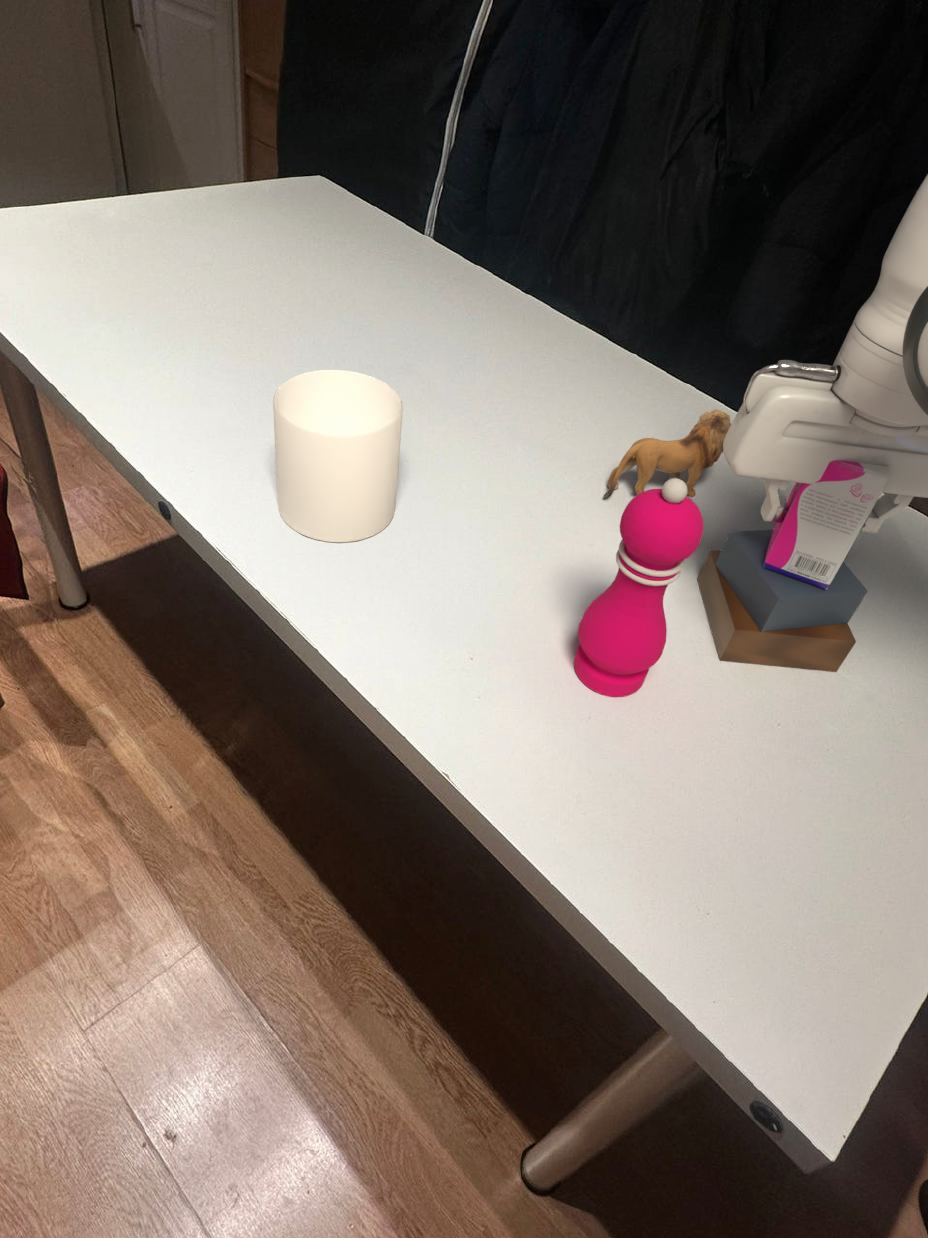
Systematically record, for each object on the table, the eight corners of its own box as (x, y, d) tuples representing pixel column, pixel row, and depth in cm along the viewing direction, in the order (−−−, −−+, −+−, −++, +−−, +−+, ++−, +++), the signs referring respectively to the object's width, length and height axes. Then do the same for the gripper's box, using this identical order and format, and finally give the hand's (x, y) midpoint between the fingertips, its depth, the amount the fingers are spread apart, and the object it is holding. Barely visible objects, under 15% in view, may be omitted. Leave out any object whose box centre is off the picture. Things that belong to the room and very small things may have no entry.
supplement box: (833, 554, 74) (895, 445, 66) (826, 591, 70) (891, 480, 62) (770, 532, 75) (823, 422, 68) (760, 567, 71) (815, 455, 64)
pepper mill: (558, 684, 70) (618, 492, 56) (579, 630, 75) (638, 441, 61) (641, 713, 68) (722, 524, 55) (656, 656, 73) (734, 469, 60)
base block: (802, 591, 83) (819, 560, 80) (836, 672, 75) (856, 641, 72) (696, 579, 82) (710, 549, 79) (719, 660, 74) (735, 629, 71)
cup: (298, 553, 77) (295, 444, 69) (263, 482, 85) (257, 376, 76) (412, 530, 82) (423, 426, 74) (370, 465, 89) (376, 363, 81)
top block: (796, 558, 80) (813, 525, 77) (848, 623, 74) (868, 590, 71) (714, 564, 78) (729, 531, 75) (761, 632, 71) (778, 599, 69)
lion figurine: (692, 465, 97) (717, 397, 91) (721, 491, 94) (749, 422, 88) (590, 488, 91) (610, 417, 85) (618, 516, 88) (640, 444, 82)
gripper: (770, 377, 57) (706, 532, 67) (1046, 413, 59) (944, 559, 68) (750, 337, 62) (692, 487, 72) (1006, 370, 63) (916, 513, 73)
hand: (817, 523), depth 70 cm, fingers closed on supplement box, 7 cm apart
